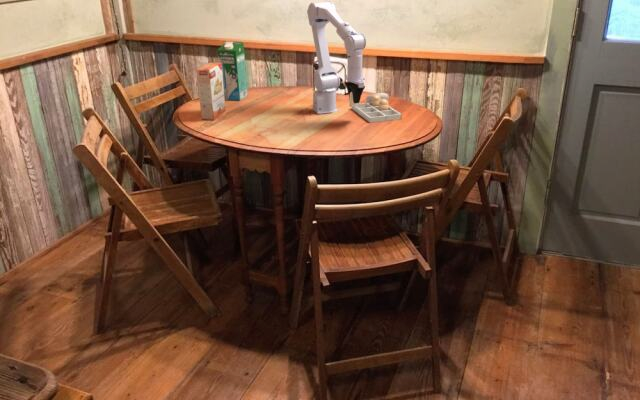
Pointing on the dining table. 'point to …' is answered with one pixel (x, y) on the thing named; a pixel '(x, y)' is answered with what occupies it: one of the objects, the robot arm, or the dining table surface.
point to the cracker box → (211, 90)
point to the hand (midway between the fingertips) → (354, 101)
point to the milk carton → (233, 70)
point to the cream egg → (352, 101)
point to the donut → (382, 95)
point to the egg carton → (376, 113)
